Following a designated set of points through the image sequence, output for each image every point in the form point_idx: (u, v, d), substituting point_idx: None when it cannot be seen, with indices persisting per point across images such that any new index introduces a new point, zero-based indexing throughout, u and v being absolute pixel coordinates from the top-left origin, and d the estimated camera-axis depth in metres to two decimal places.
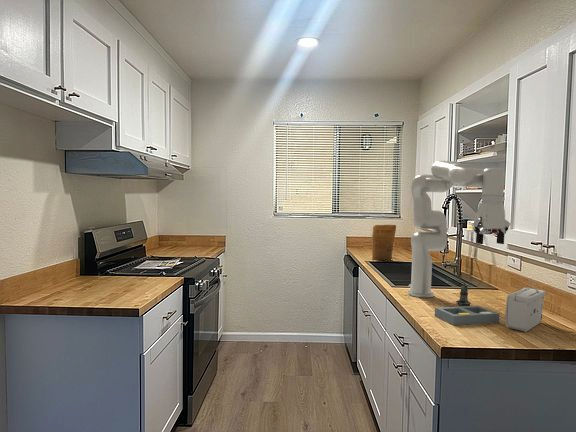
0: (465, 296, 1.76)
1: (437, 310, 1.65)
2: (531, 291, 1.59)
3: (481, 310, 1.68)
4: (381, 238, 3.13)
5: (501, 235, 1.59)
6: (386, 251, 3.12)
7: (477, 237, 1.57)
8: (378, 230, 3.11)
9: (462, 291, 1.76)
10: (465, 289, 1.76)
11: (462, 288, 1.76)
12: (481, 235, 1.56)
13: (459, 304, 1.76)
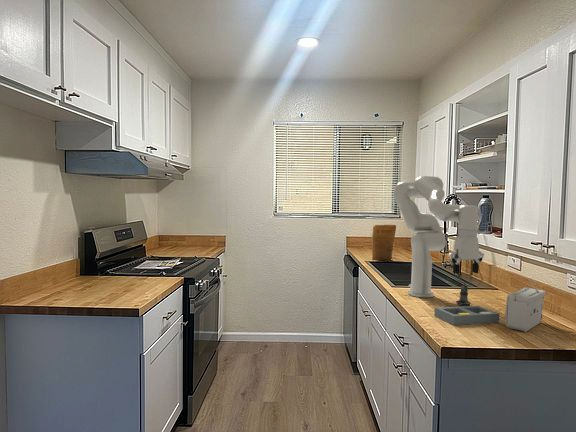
0: (465, 296, 1.76)
1: (437, 310, 1.65)
2: (531, 291, 1.59)
3: (481, 310, 1.68)
4: (381, 238, 3.13)
5: (476, 265, 1.77)
6: (386, 251, 3.12)
7: (454, 267, 1.75)
8: (378, 230, 3.11)
9: (462, 291, 1.76)
10: (465, 289, 1.76)
11: (462, 288, 1.76)
12: (458, 266, 1.74)
13: (459, 304, 1.76)
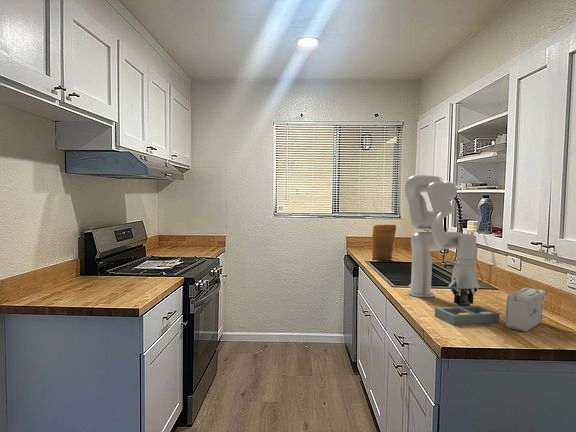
0: (465, 296, 1.76)
1: (437, 310, 1.65)
2: (531, 291, 1.59)
3: (481, 310, 1.68)
4: (381, 238, 3.13)
5: (470, 296, 1.77)
6: (386, 251, 3.12)
7: (455, 298, 1.76)
8: (378, 230, 3.11)
9: (462, 291, 1.76)
10: (465, 289, 1.76)
11: None
12: (459, 297, 1.75)
13: None
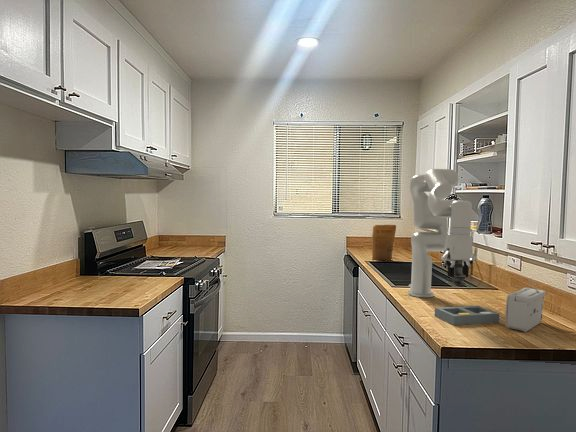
0: (460, 268, 1.60)
1: (437, 310, 1.65)
2: (531, 291, 1.59)
3: (481, 310, 1.68)
4: (381, 238, 3.13)
5: (465, 268, 1.62)
6: (386, 251, 3.12)
7: (448, 270, 1.61)
8: (378, 230, 3.11)
9: (456, 263, 1.61)
10: (460, 261, 1.60)
11: (456, 260, 1.61)
12: (452, 269, 1.60)
13: None
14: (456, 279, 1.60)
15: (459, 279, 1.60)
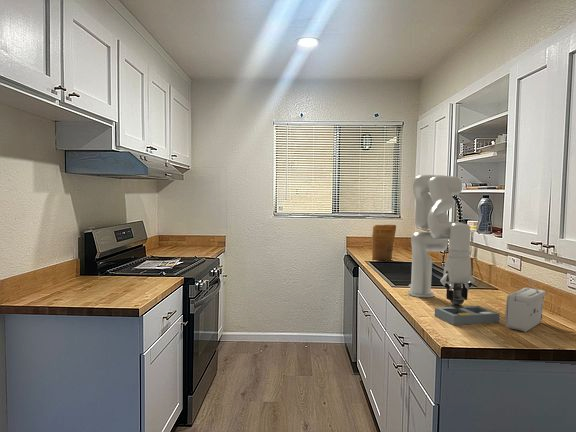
0: (458, 291, 1.61)
1: (437, 310, 1.65)
2: (531, 291, 1.59)
3: (481, 310, 1.68)
4: (381, 238, 3.13)
5: (464, 291, 1.62)
6: (386, 251, 3.12)
7: (447, 293, 1.61)
8: (378, 230, 3.11)
9: (455, 286, 1.61)
10: (458, 283, 1.61)
11: None
12: (451, 292, 1.60)
13: (452, 300, 1.61)
14: (455, 302, 1.60)
15: (458, 302, 1.60)
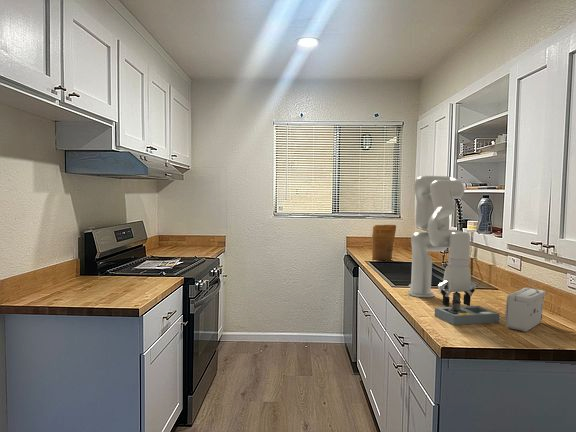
0: (457, 304, 1.61)
1: (437, 310, 1.65)
2: (531, 291, 1.59)
3: (481, 310, 1.68)
4: (381, 238, 3.13)
5: (467, 297, 1.63)
6: (386, 251, 3.12)
7: (443, 299, 1.61)
8: (378, 230, 3.11)
9: (454, 299, 1.62)
10: (457, 297, 1.61)
11: (454, 296, 1.62)
12: (447, 298, 1.60)
13: None
14: None
15: None
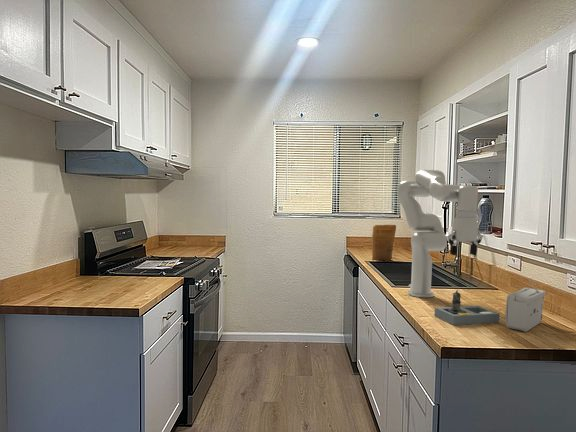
0: (458, 304, 1.61)
1: (437, 310, 1.65)
2: (531, 291, 1.59)
3: (481, 310, 1.68)
4: (381, 238, 3.13)
5: (474, 247, 1.74)
6: (386, 251, 3.12)
7: (451, 249, 1.72)
8: (378, 230, 3.11)
9: (454, 299, 1.62)
10: (458, 297, 1.61)
11: (454, 296, 1.62)
12: (455, 247, 1.71)
13: None
14: None
15: None
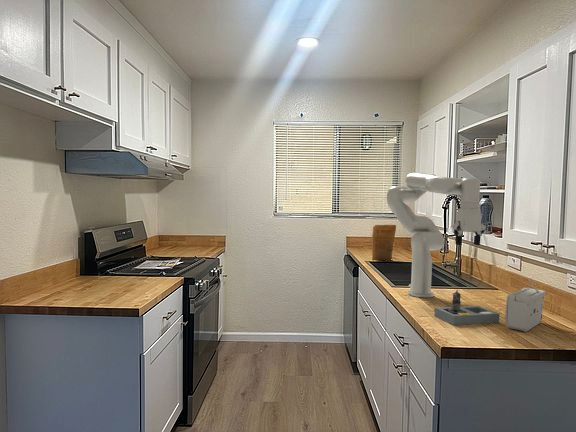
0: (457, 304, 1.61)
1: (437, 310, 1.65)
2: (531, 291, 1.59)
3: (481, 310, 1.68)
4: (381, 238, 3.13)
5: (477, 237, 1.80)
6: (386, 251, 3.12)
7: (456, 239, 1.78)
8: (378, 230, 3.11)
9: (454, 299, 1.62)
10: (457, 297, 1.61)
11: (454, 296, 1.62)
12: (460, 237, 1.77)
13: None
14: None
15: None
